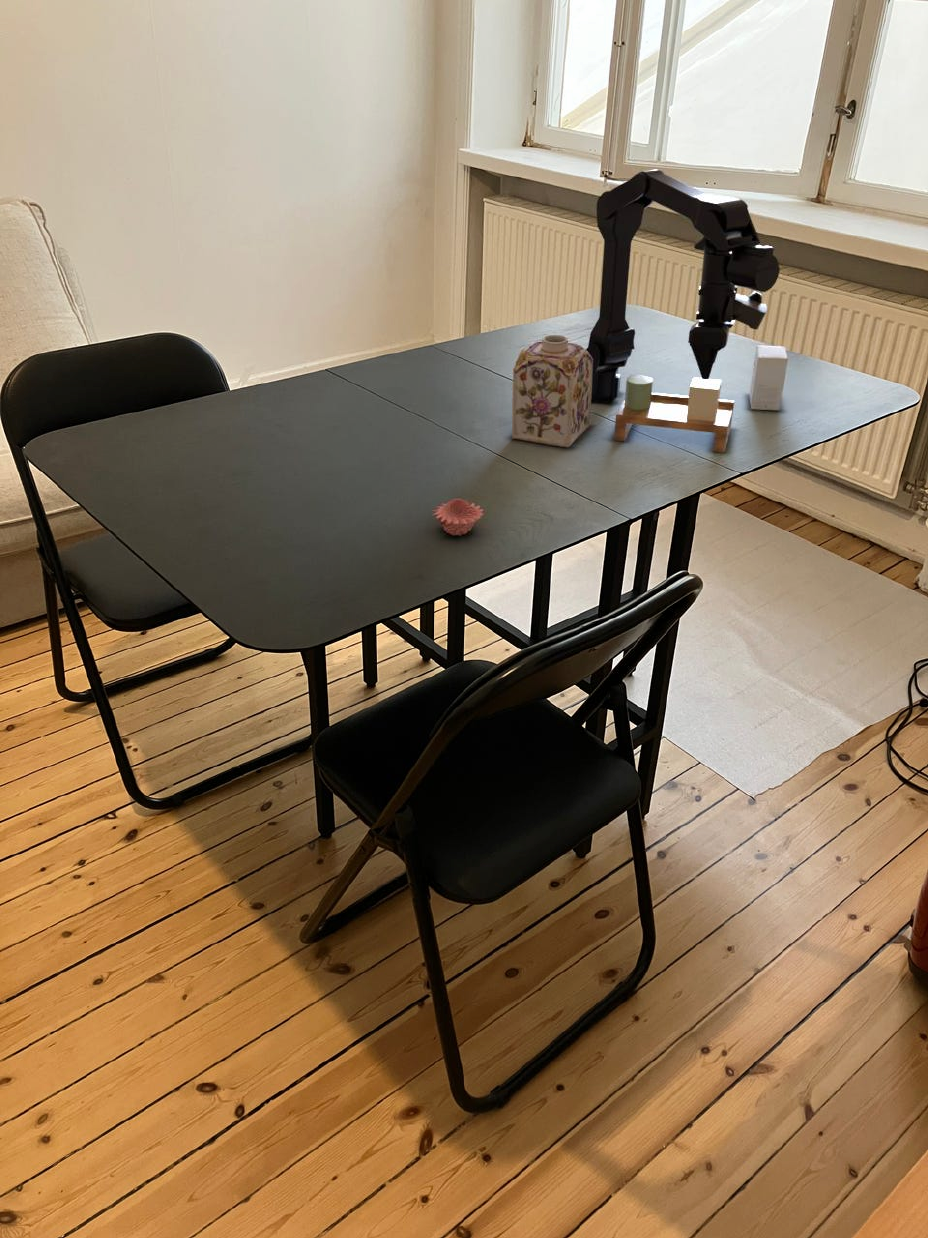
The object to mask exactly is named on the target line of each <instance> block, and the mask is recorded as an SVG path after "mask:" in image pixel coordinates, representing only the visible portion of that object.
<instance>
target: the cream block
mask: <svg viewBox="0 0 928 1238" xmlns="http://www.w3.org/2000/svg"><path fill="white" fill-rule="evenodd" d="M721 389H722V379H712V378H709V379H708V380H706V379H702V377H693V378H692V380H691V383H690V386H689V392H688V396H689V399H688V408H687V417H686V419H693V420H702V421H712V422H715V418H716V415H717V412H718V405H719V399H720V397H721V396H720V395H721Z"/></svg>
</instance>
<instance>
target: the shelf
mask: <svg viewBox="0 0 928 1238" xmlns="http://www.w3.org/2000/svg"><path fill="white" fill-rule="evenodd" d="M688 399H689V395H680V394H668V393H661V392H660V393H659V392H652V397H651V407H650V408H649V409H646V410H632V409H629V408H627V407H625V398H624V399H623V401H622V403H621V405H620V407H619V408H618V410H617V412H616V414H615V421H614V422H615V423H614V435H613V440H614V441H619V442H625V441H626V440H627V438H628V435H629V433H630V431H631V429H632V427H633V425H638V426H647V427H654V428H655V427H656V428H667V429H675V430H685V431H693V432H703V433H713V434H714V440H713V447H712V452H715V453H725V452H726V447H727V444H728V441H729V437H730V433H731V429H732V422H733V414H734V407H735V400H732V399H731V400H729V399H720V398H719V405H718V412H717V415H716V418H715V422H712V421H702V420H693V419H686V417H687V408H688Z"/></svg>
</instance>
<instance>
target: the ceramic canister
mask: <svg viewBox="0 0 928 1238" xmlns="http://www.w3.org/2000/svg"><path fill="white" fill-rule="evenodd" d="M625 381H626V382H625V392H624V393H625V395H624V399H625V407H627V408H629V409H632V410H646V409H649V408H650V407H651V397H652V393H653V385H654V379H653V378H652V377H650V376H647V375H640V374H639V375H630V376H628V377H627V378H626V380H625Z"/></svg>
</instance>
